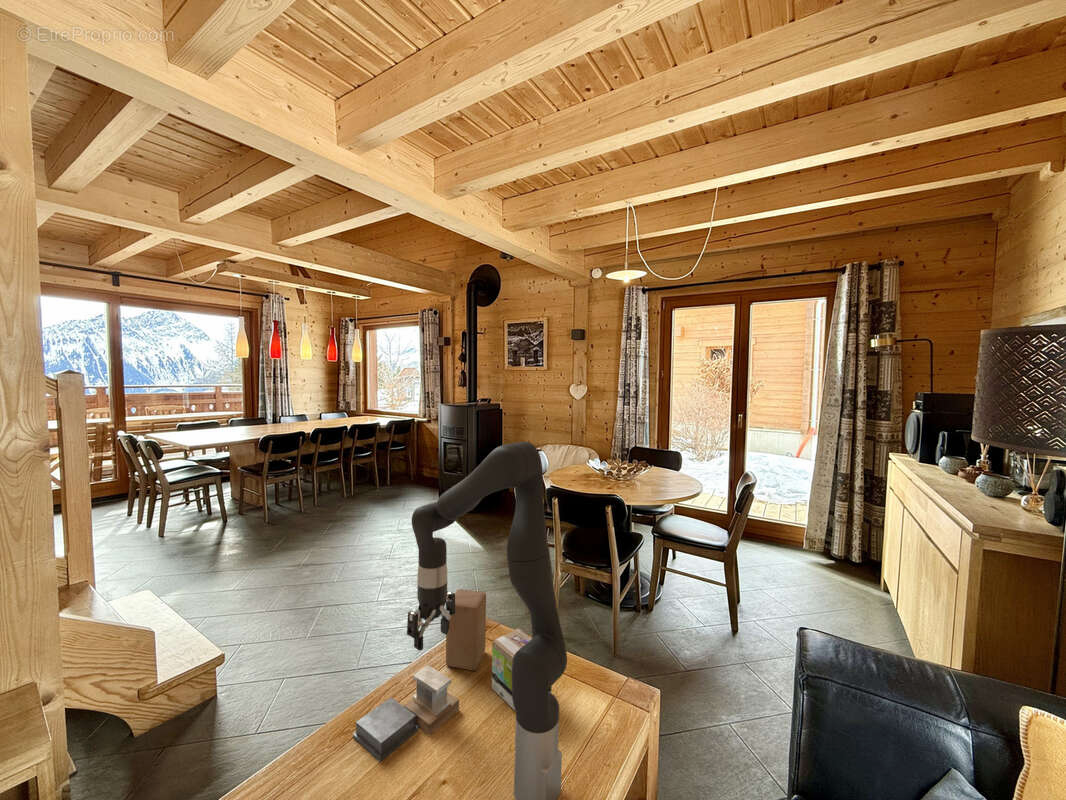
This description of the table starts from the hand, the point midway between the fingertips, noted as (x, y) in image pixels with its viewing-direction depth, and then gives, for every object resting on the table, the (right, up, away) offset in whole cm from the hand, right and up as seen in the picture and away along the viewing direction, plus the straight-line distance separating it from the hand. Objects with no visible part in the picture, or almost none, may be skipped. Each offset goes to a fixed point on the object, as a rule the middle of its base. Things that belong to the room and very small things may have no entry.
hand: (432, 640), depth 111 cm
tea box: (+23, -20, +8) cm, 31 cm away
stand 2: (0, -20, +1) cm, 20 cm away
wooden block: (+5, -19, +23) cm, 30 cm away
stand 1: (-10, -20, -5) cm, 23 cm away
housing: (0, -17, +1) cm, 17 cm away
